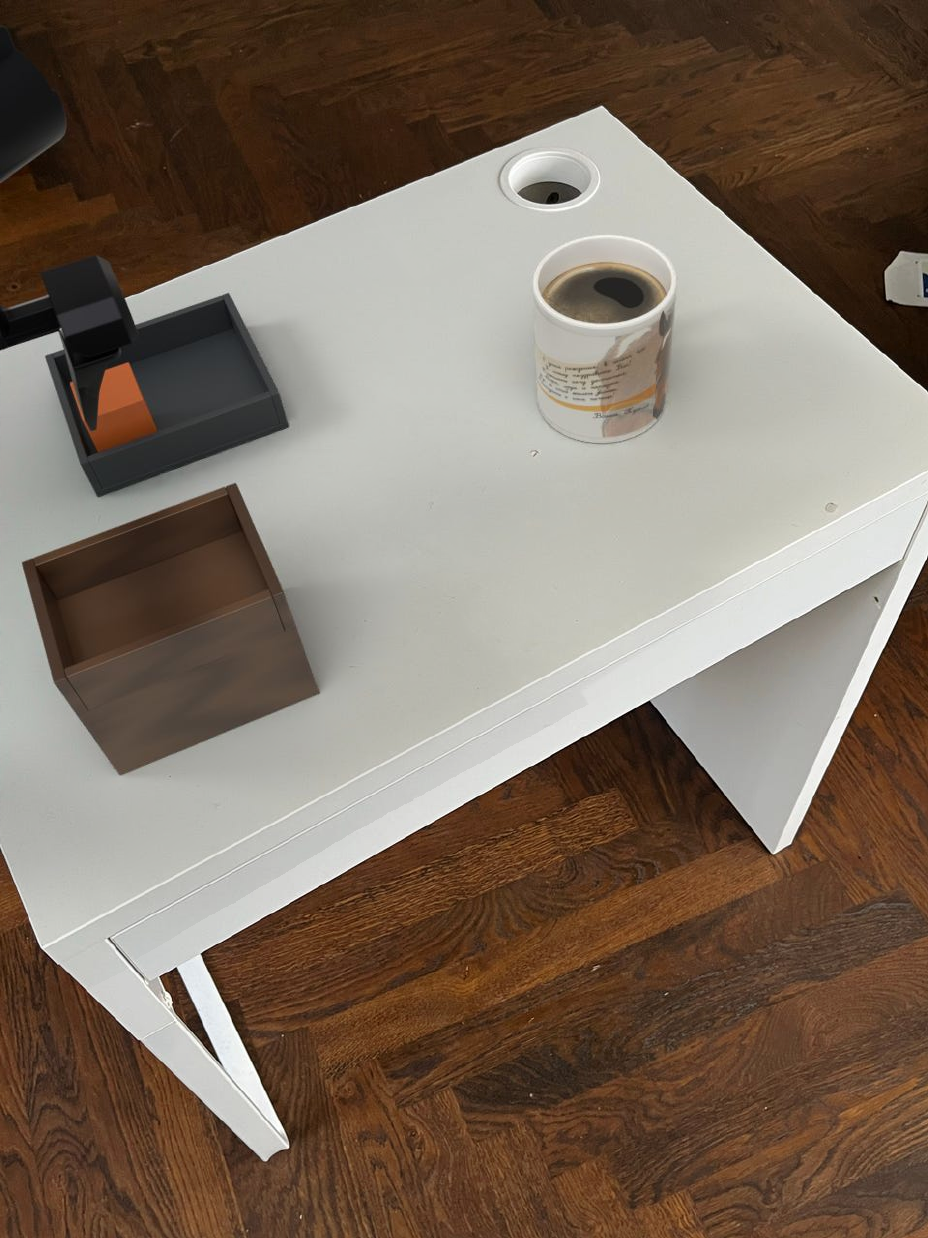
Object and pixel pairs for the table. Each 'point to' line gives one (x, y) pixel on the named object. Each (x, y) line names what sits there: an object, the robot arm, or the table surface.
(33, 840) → the table surface
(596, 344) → the mug
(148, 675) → the box
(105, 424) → the block
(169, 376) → the tub
